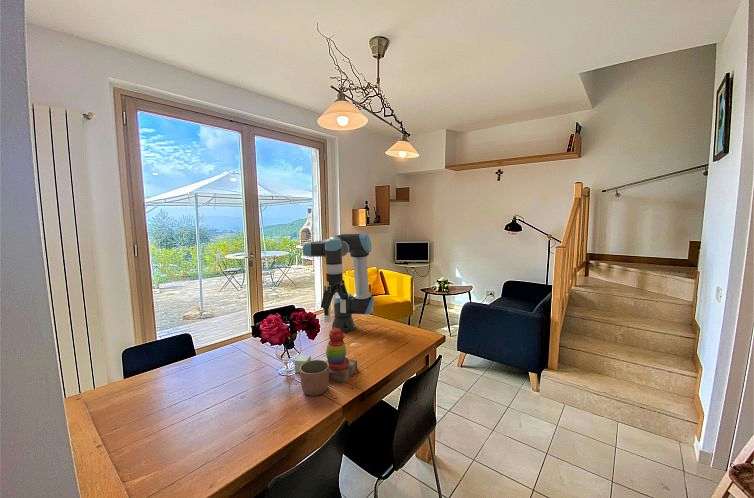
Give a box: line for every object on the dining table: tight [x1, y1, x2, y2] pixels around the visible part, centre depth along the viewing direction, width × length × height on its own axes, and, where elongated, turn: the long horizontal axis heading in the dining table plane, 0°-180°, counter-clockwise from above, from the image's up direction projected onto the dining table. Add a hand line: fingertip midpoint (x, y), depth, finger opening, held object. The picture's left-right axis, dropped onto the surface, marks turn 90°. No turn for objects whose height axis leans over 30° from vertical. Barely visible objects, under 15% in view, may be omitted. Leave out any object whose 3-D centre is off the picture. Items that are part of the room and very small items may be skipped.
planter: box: [299, 359, 330, 397], centre depth 132 cm, size 12×12×11 cm
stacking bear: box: [325, 327, 349, 370], centre depth 145 cm, size 11×10×18 cm
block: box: [293, 354, 312, 374], centre depth 150 cm, size 6×6×6 cm
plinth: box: [325, 358, 358, 385], centre depth 146 cm, size 14×14×5 cm
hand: (335, 317), depth 143 cm, fingers open, 13 cm apart
